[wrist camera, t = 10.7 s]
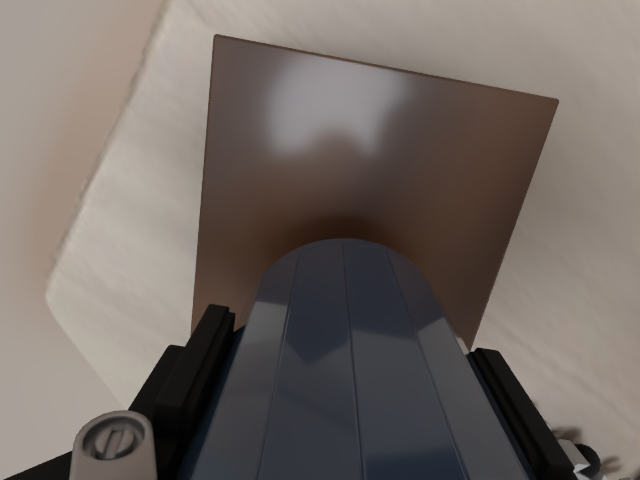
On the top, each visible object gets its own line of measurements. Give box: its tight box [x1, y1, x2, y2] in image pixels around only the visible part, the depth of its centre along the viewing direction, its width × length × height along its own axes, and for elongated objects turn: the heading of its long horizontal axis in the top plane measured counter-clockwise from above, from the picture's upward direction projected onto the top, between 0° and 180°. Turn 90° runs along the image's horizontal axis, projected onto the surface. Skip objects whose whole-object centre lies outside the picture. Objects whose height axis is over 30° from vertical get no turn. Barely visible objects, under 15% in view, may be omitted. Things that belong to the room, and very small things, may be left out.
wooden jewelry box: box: [190, 34, 559, 352], centre depth 21 cm, size 12×17×10 cm
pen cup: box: [175, 238, 537, 480], centre depth 10 cm, size 7×7×9 cm
